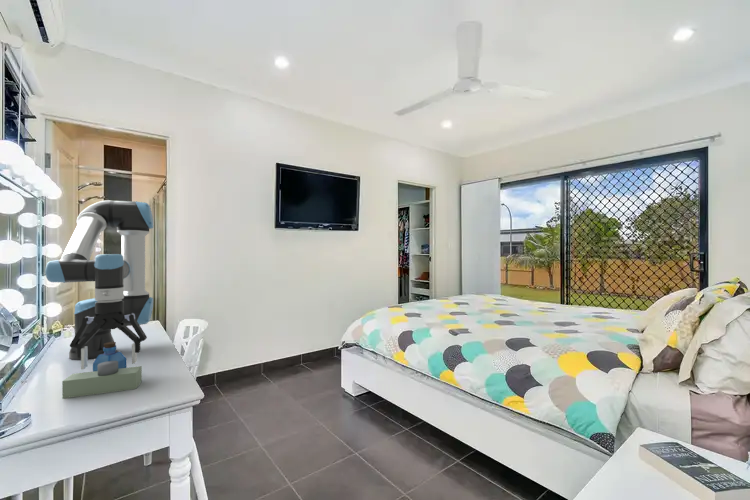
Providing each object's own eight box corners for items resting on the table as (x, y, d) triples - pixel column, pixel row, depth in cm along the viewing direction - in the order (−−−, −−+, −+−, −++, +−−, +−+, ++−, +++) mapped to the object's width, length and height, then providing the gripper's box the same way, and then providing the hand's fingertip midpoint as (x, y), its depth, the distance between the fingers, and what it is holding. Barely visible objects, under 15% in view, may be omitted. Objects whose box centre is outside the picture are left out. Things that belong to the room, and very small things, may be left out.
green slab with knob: (84, 380, 113) (84, 356, 113) (148, 372, 119) (148, 350, 120) (62, 398, 99) (62, 370, 99) (136, 388, 106) (135, 362, 106)
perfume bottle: (108, 383, 109) (108, 346, 109) (92, 382, 110) (92, 345, 110) (126, 376, 115) (126, 341, 115) (111, 375, 116) (110, 340, 116)
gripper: (55, 304, 105) (56, 374, 105) (151, 300, 114) (151, 363, 114) (67, 301, 112) (67, 366, 112) (156, 297, 121) (156, 357, 121)
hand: (110, 365), depth 113 cm, fingers open, 13 cm apart
